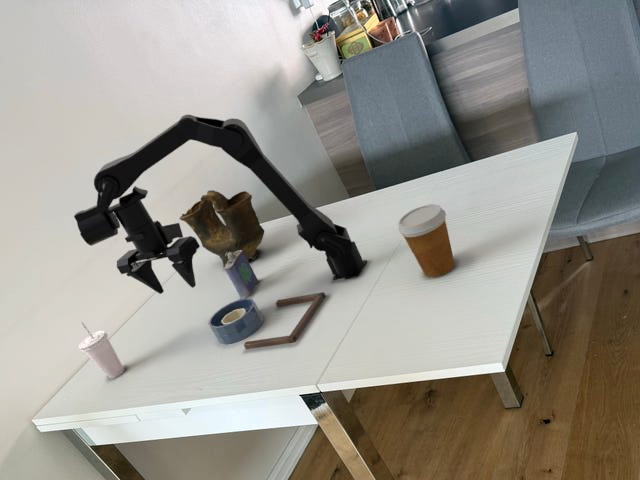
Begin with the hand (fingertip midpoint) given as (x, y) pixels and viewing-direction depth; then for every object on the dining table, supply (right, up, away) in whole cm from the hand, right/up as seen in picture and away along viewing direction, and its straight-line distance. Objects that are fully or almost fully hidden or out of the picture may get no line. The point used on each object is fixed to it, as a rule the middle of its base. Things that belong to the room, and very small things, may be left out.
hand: (177, 289), depth 146 cm
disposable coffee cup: (+55, +3, -10) cm, 56 cm away
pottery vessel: (+6, +12, +38) cm, 40 cm away
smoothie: (-16, -18, +8) cm, 25 cm away
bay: (+24, -8, -4) cm, 26 cm away
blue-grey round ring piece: (+13, -9, +1) cm, 16 cm away
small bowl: (+13, -8, +1) cm, 16 cm away
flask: (+12, +1, +18) cm, 22 cm away
